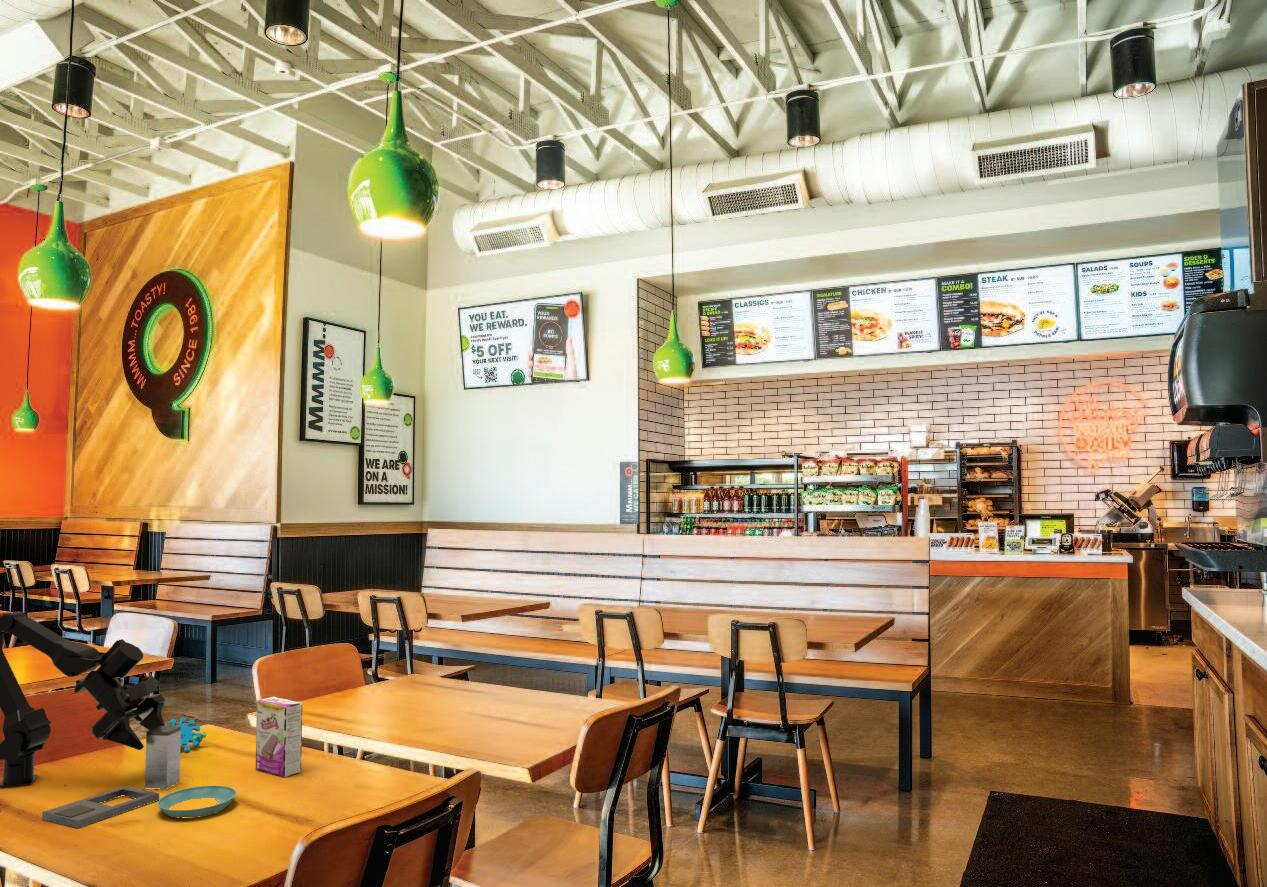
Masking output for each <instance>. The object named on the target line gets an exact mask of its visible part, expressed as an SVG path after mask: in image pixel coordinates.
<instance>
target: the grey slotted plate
mask: <svg viewBox="0 0 1267 887" xmlns="http://www.w3.org/2000/svg"><path fill="white" fill-rule="evenodd" d="M121 795H125V796H129V797H134V798H136V799H133V798H132V799H130V800H127V801H124V802H122V803H118V804H115V805H107V804H103V803H105V802H104V801H106V802H108V801H107V800H109V801H111V800H110V799H112V800H114V799H113V798H115V797H118V796H121ZM129 797H128V798H129ZM115 799H116V798H115ZM159 799H160V793H159V792H155V791H150V790H147V789H141V788H135V787H131V786H126V785H125V786H124V785H123V786H121V787H117V788H115V789H110V790H108V791H105V792H102V793H99V794H95V795H92V796H90V797H86V798H83V799H80V800H76V801H72V802H71V803H67V804H64V805H60V806H58V807H53V808H51V809H48V810H45V811H42V814H41V816H42V818H41V819H42V821H45V822H46V821H47V822H51V823H53V824H58V825H61V824H62V825H61V826H65V825H66V827H69V826H71V827H70V828H73V827H75V828H74V829H77V828H78V829H80V828H79V827H81V828H83V827H82V826H84V827H86V826H85V825H87V826H89V825H92V824H94V823H93V822H95V823H97V822H96V821H98V822H100V821H99V820H101V821H103V820H102V819H104V820H106V819H105V818H107V819H109V818H108V817H110V816H113V815H116V814H118V815H120V814H119V813H121V814H123V813H122V812H124V811H127V810H130V809H133V808H135V807H138V806H141V805H144V804H147V803H150V802H153V801H156V800H159ZM100 802H103V803H100ZM156 802H157V801H156ZM99 803H100V804H99ZM153 803H154V802H153ZM150 804H151V803H150ZM147 805H148V804H147ZM144 806H145V805H144ZM133 810H134V809H133ZM130 811H131V810H130ZM127 812H128V811H127ZM124 813H125V812H124ZM116 816H117V815H116ZM113 817H114V816H113ZM110 818H111V817H110ZM91 823H92V824H91ZM88 824H89V825H88Z"/></svg>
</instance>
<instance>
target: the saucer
mask: <svg viewBox="0 0 1267 887" xmlns="http://www.w3.org/2000/svg"><path fill="white" fill-rule="evenodd" d="M237 792H238V791H236V789H235V788H233V787H230V786H225V785H199V786H193V787H188V788H183V789H179V790H175V791H173V792H170V793H167V794H166V795H164V796H162V797H161V798H160V797H159V801H156V802H157V804H156V805H157V807H158V808H159V809H160V811H162V813H164V814H166V815H167V816H168V817H170V816H172V817H171V818H173V817H179V818H182V817H198V816H204V817H206V816H205V815H208V816H210V815H209V814H212V815H214V814H213V813H215V812H217V813H219V812H218V811H220V812H221V811H223V810H224V809H226V808H227V807H228V806H229V805H230V804H231V803H232V802H233V800H234V799H235V797H236V796H237ZM201 798H215V800H216V801H217V802H218V803H219V804H217V803H216V805H214V806H210V807H205V808H200V809H192V810H169V808H170V807H171V806H174V805H175V804H177V803H181V802H183V801H187V800H191V799H201ZM217 799H218V800H219V801H220V802H219V801H218V800H217ZM225 807H226V808H225ZM222 809H223V810H222ZM215 814H216V813H215ZM179 818H178V819H179ZM198 818H199V817H198Z"/></svg>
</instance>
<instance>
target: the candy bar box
mask: <svg viewBox="0 0 1267 887" xmlns="http://www.w3.org/2000/svg"><path fill="white" fill-rule="evenodd" d="M255 727H256V729H255V730H256V733H255V734H256V736H255V770H256V771H261V772H263V773H264V772H265V773H267V774H271V775H275V776H279V777H281V778H288V777H292V776H294V775H298V774H300V773H302V746H303V744H302V743H303V741H302V740H303V702H301V701H296V700H291V699H286V698H282V697H278V696H271V697H264V698H260V699H257V700H256V726H255Z"/></svg>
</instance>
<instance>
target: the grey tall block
mask: <svg viewBox="0 0 1267 887" xmlns="http://www.w3.org/2000/svg"><path fill="white" fill-rule="evenodd" d="M145 735H146V738H145V763H144V766H145V768H144V789H145V788H160V789H167V788H169V787H171V786H172V785H174V784H176V783H178V782H179V783H180V781H181V780H180V779H181V778H180V775H181V774H180V772H181V771H180V770H181V749H182V747H181V726H177V725H175V726H172V725H168V726H158V727H156V728H154V729H152V730H147V731H146V734H145ZM179 783H178V784H179ZM176 785H177V784H176ZM174 786H175V785H174ZM172 787H173V786H172ZM172 787H171V788H172ZM169 789H170V788H169ZM167 790H168V789H167Z"/></svg>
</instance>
